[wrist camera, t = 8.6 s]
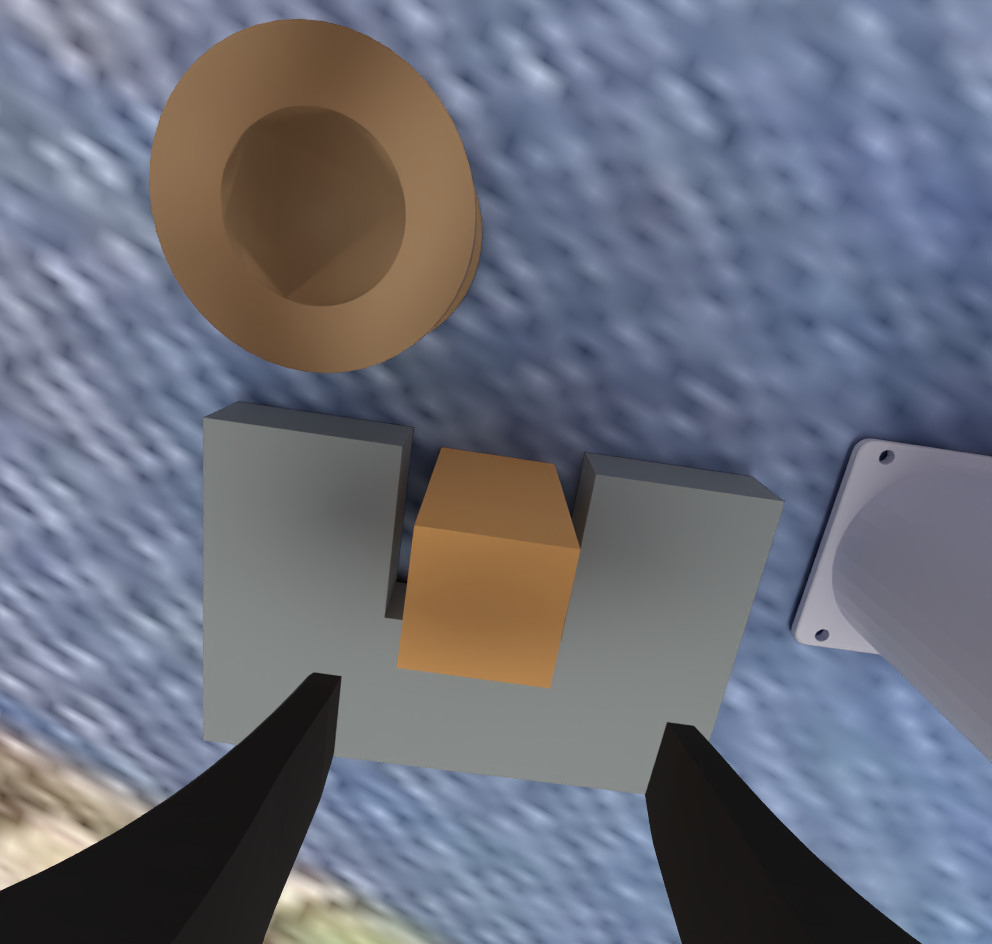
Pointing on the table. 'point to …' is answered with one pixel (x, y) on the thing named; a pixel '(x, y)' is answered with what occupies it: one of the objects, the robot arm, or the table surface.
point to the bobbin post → (314, 197)
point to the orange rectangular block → (489, 571)
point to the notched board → (380, 598)
